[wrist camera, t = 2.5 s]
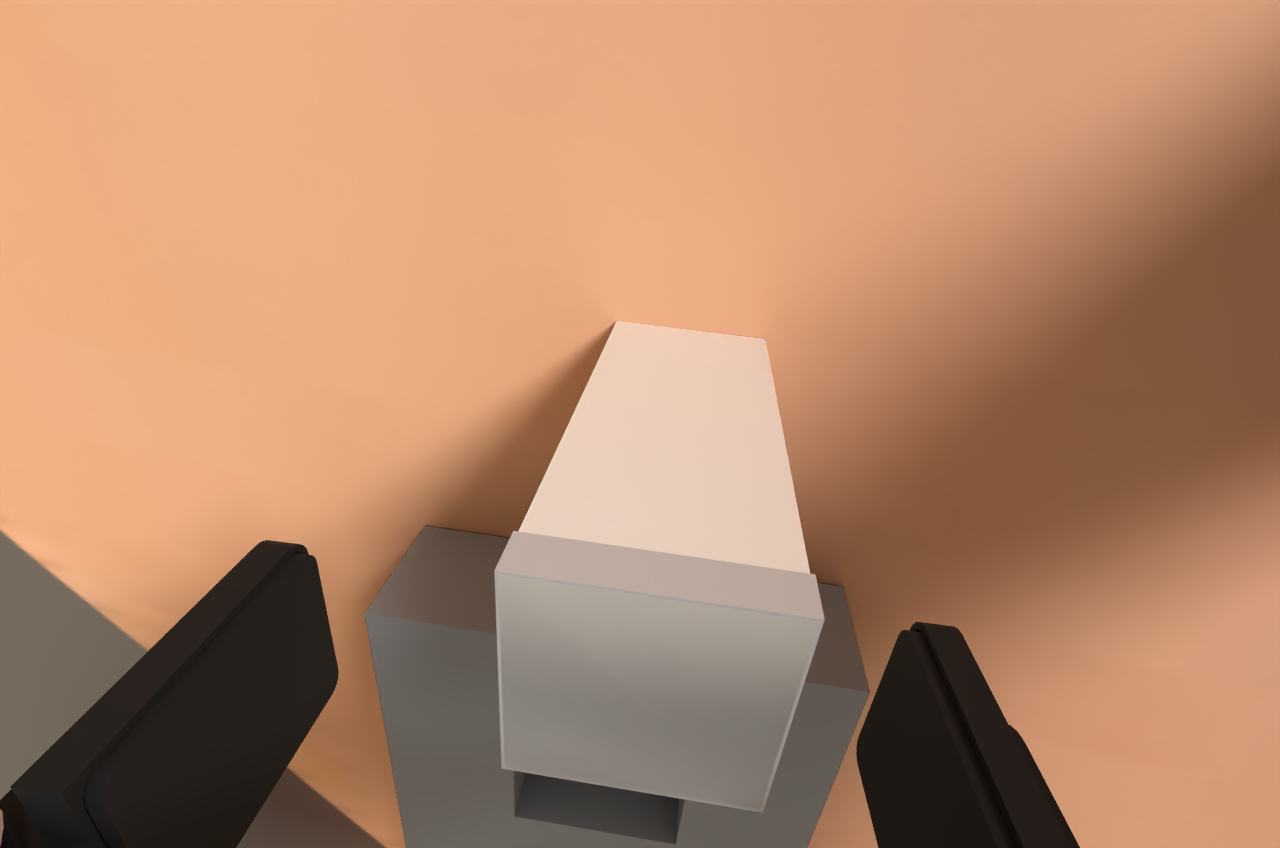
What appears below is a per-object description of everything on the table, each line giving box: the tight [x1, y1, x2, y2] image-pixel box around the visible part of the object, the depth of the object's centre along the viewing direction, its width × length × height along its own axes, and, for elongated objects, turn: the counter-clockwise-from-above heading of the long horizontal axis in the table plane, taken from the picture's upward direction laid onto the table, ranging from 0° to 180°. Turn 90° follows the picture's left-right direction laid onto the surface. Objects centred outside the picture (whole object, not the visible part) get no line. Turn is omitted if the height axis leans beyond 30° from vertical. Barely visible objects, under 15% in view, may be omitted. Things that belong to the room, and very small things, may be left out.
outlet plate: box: [365, 526, 870, 848], centre depth 23 cm, size 18×14×4 cm
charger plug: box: [494, 321, 825, 813], centre depth 13 cm, size 4×4×10 cm
